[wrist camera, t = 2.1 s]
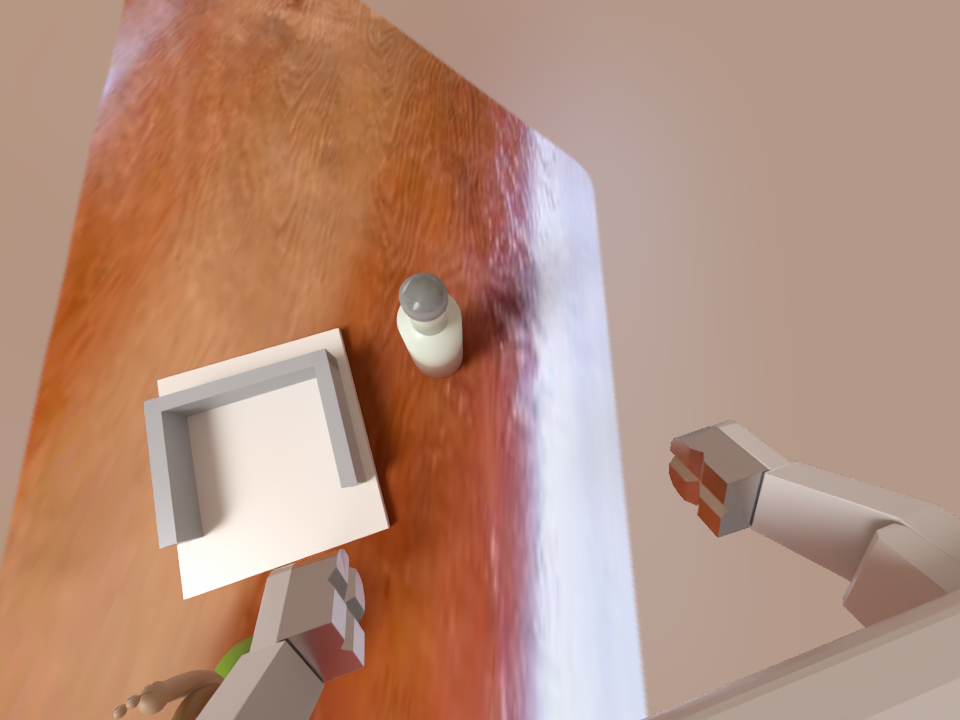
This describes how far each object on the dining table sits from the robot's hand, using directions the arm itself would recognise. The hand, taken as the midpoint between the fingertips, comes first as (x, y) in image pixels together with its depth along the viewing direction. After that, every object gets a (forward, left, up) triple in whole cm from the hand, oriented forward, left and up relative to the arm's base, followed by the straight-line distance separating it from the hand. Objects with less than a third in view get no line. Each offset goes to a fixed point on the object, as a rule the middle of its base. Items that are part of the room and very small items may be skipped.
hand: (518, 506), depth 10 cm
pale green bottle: (+12, 0, -26) cm, 28 cm away
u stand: (+8, +16, -26) cm, 31 cm away
